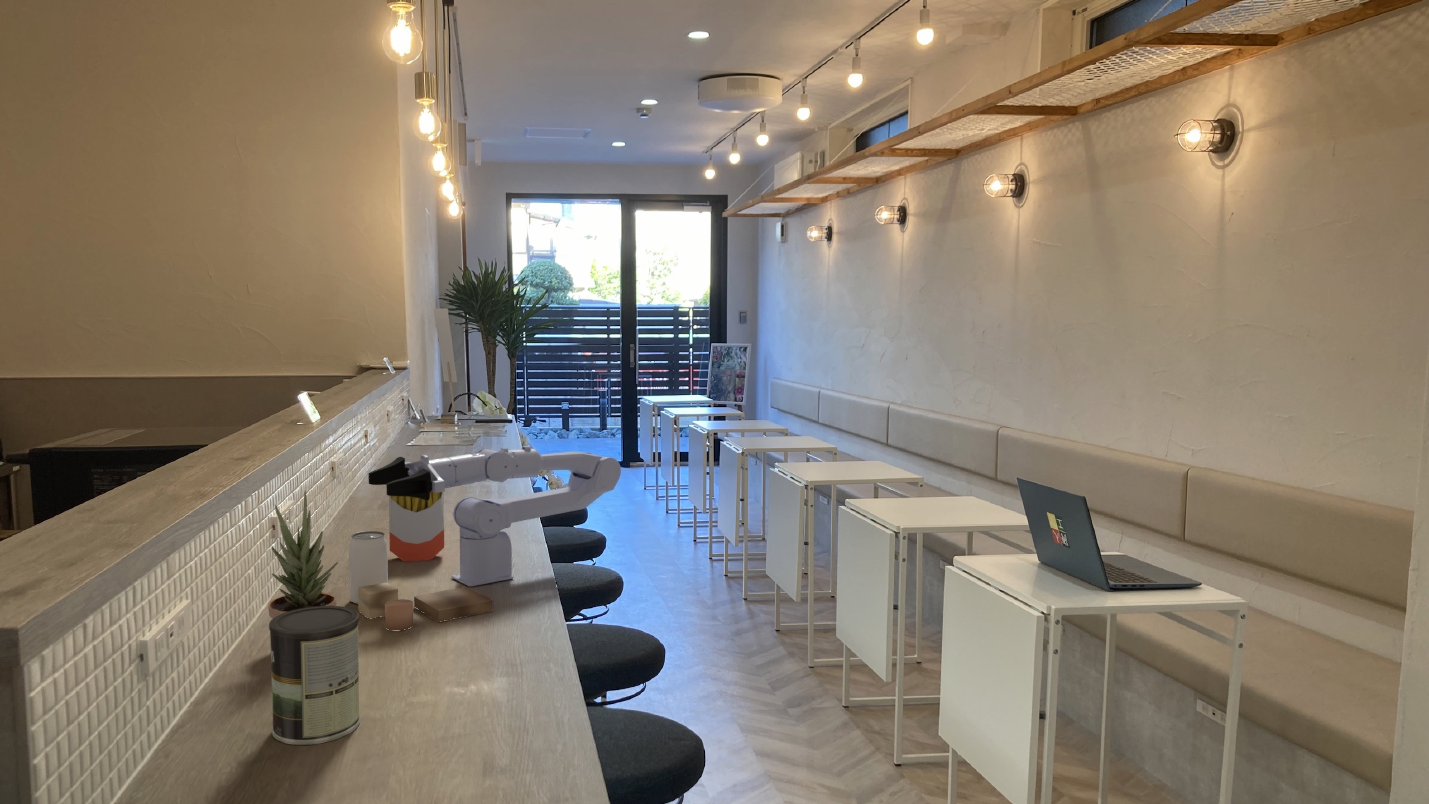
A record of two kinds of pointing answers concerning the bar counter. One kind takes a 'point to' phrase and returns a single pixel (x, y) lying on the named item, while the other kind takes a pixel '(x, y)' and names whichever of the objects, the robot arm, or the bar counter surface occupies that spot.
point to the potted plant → (300, 570)
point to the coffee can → (314, 674)
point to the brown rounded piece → (399, 614)
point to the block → (375, 599)
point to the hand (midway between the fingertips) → (378, 484)
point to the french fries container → (416, 526)
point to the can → (367, 561)
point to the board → (453, 603)
